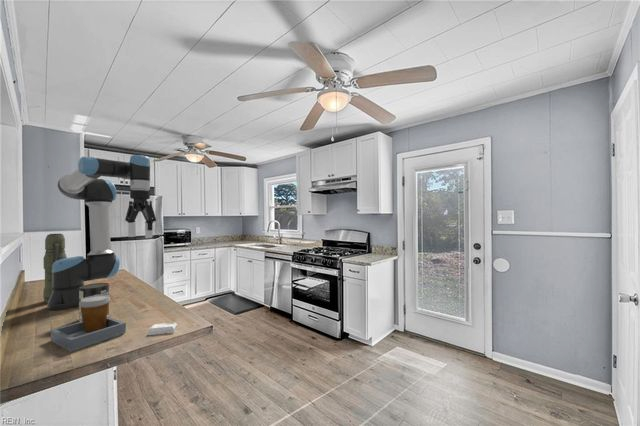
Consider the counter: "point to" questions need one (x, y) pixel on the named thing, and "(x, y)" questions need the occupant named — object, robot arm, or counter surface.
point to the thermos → (52, 260)
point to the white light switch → (162, 328)
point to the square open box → (86, 334)
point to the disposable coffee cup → (94, 312)
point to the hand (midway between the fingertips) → (140, 237)
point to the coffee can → (92, 293)
